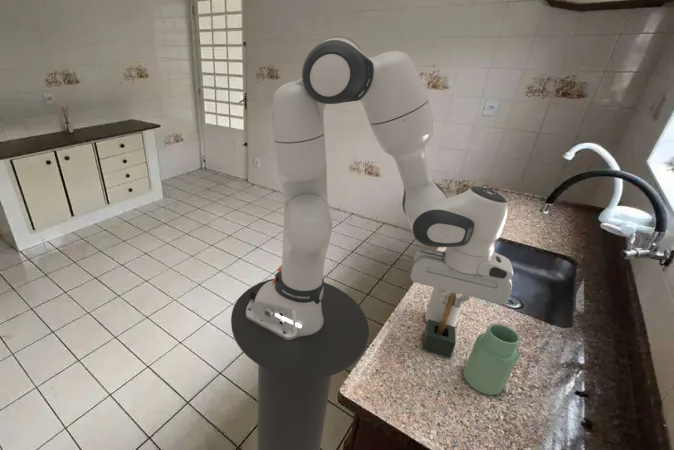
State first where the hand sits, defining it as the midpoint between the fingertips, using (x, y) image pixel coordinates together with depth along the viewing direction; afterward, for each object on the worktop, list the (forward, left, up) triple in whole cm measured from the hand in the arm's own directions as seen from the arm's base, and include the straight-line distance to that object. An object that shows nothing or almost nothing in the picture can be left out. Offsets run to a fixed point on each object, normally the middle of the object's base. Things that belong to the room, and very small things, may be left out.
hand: (449, 304), depth 86 cm
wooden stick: (0, 0, -14) cm, 14 cm away
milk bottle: (+1, +10, -14) cm, 17 cm away
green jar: (+10, -7, -14) cm, 19 cm away
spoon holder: (0, 0, -14) cm, 14 cm away
